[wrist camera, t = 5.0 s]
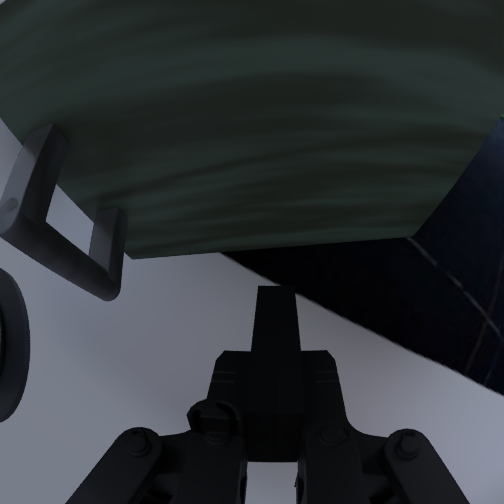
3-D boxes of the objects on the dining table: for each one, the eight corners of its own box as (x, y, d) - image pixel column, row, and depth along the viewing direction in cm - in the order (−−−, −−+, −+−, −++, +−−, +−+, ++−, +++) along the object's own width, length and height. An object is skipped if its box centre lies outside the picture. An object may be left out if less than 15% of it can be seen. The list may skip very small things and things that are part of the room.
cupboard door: (426, 296, 24) (636, 101, 1) (128, 322, 25) (-127, 151, 2) (409, 227, 26) (539, 0, 4) (133, 249, 27) (-38, 34, 5)
